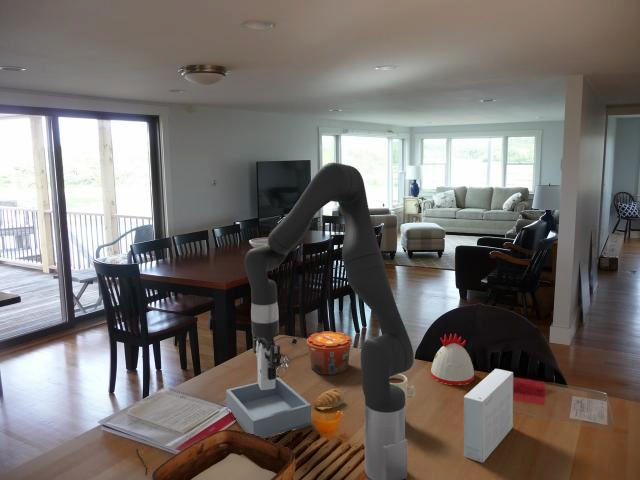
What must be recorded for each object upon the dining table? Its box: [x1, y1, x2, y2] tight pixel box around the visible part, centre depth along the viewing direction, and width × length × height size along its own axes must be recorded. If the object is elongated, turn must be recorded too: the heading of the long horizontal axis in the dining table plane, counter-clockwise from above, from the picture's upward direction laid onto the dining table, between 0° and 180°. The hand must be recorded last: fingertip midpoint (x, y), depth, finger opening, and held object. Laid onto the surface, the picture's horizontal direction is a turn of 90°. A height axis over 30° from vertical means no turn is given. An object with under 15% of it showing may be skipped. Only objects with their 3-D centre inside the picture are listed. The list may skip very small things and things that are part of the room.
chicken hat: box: [430, 333, 475, 386], centre depth 172 cm, size 14×14×15 cm
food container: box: [306, 330, 353, 375], centre depth 181 cm, size 16×16×11 cm
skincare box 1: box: [256, 345, 275, 390], centre depth 145 cm, size 6×4×12 cm
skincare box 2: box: [463, 368, 514, 464], centre depth 133 cm, size 21×5×16 cm, turn 141°
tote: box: [225, 376, 312, 438], centre depth 147 cm, size 21×17×6 cm
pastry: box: [313, 388, 346, 409], centre depth 155 cm, size 9×7×4 cm
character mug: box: [390, 373, 416, 422], centre depth 143 cm, size 11×7×13 cm, turn 77°
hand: (266, 374), depth 146 cm, fingers closed on skincare box 1, 6 cm apart
